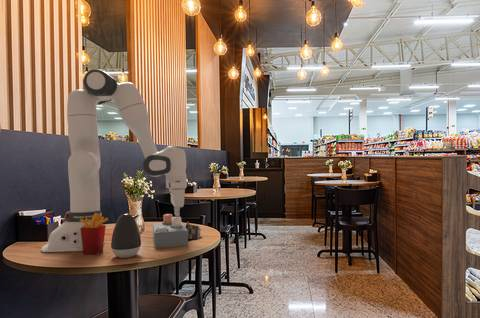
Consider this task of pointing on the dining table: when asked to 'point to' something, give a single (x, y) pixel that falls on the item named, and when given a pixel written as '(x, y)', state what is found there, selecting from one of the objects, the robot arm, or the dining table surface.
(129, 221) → the dark grey egg shape
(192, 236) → the chocolate cake
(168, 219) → the terracotta plunger
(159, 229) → the grey plunger
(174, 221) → the cream plunger
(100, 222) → the french fries
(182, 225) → the grey open box
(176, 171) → the robot arm
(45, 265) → the dining table surface
